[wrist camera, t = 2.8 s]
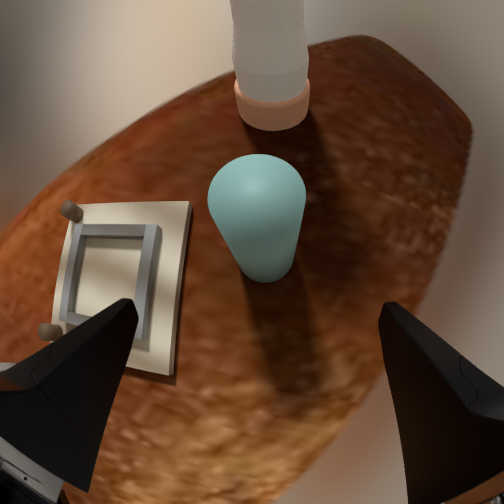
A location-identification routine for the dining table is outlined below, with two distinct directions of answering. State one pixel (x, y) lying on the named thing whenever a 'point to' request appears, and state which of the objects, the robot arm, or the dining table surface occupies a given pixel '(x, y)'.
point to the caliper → (5, 366)
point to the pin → (259, 213)
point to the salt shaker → (270, 62)
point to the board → (124, 272)
